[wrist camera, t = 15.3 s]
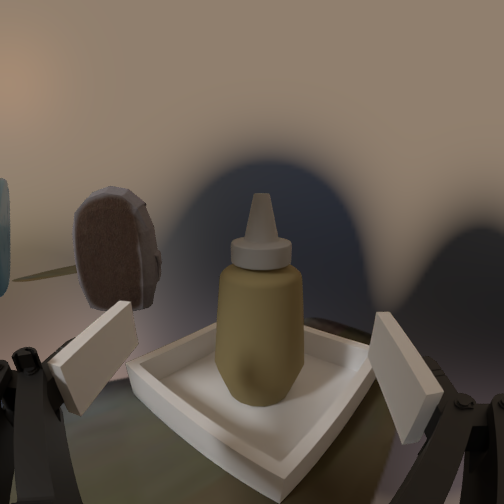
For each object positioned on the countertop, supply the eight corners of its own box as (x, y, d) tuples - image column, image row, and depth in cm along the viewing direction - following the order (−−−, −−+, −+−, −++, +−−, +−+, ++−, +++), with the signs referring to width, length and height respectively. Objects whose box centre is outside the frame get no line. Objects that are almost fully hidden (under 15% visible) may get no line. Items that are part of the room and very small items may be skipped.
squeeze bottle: (232, 359, 31) (228, 191, 26) (305, 369, 29) (318, 193, 24) (204, 406, 23) (187, 196, 19) (294, 423, 21) (313, 199, 17)
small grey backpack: (76, 314, 41) (59, 191, 36) (94, 295, 49) (82, 188, 44) (161, 317, 42) (151, 182, 37) (169, 296, 50) (162, 181, 45)
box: (133, 393, 25) (125, 362, 24) (248, 332, 39) (248, 306, 38) (279, 503, 14) (284, 479, 13) (375, 379, 27) (383, 349, 26)
